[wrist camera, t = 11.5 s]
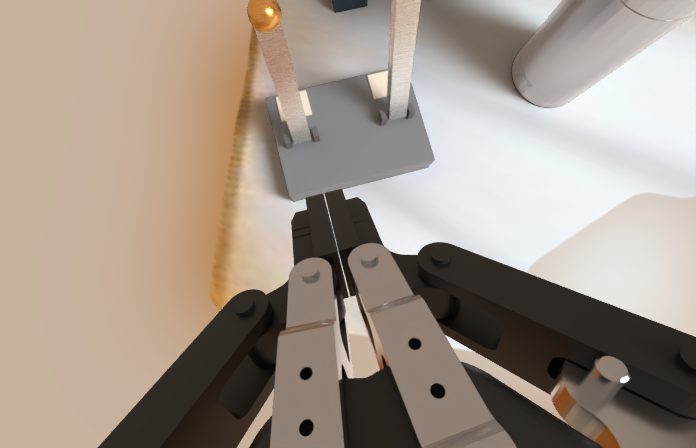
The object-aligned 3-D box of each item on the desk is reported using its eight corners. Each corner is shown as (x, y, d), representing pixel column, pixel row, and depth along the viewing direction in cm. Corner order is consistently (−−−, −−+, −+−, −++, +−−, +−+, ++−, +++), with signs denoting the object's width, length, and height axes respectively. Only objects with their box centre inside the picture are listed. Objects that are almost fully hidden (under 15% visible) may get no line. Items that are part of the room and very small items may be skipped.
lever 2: (402, 105, 35) (419, -51, 22) (409, 119, 34) (431, -36, 21) (382, 110, 35) (388, -45, 22) (389, 124, 34) (398, -28, 21)
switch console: (400, 79, 39) (408, 56, 35) (427, 167, 38) (438, 155, 33) (271, 110, 38) (261, 91, 34) (293, 201, 37) (286, 193, 33)
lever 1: (310, 127, 35) (273, -18, 22) (314, 143, 34) (278, 1, 21) (289, 132, 35) (240, -10, 22) (293, 148, 34) (243, 9, 21)
